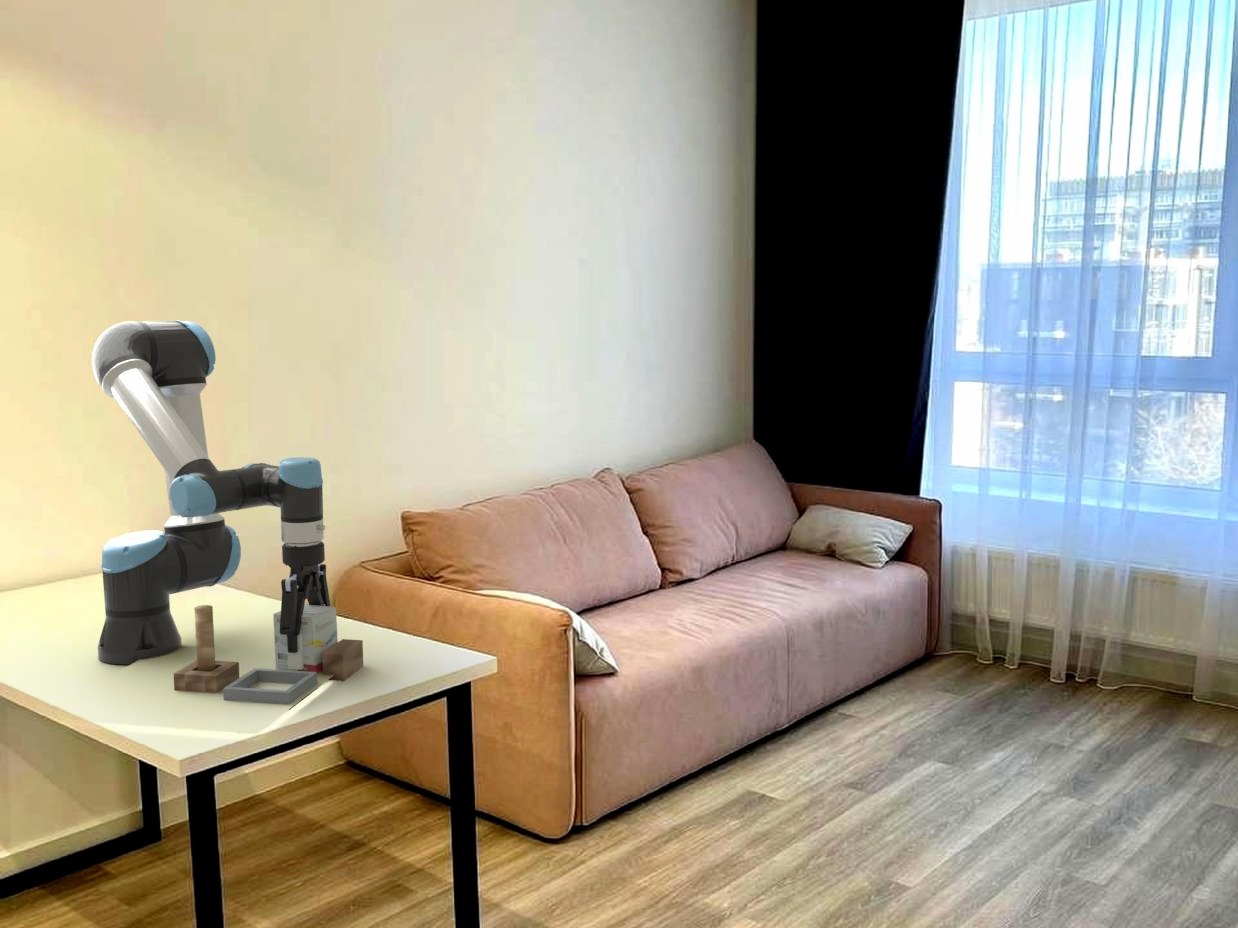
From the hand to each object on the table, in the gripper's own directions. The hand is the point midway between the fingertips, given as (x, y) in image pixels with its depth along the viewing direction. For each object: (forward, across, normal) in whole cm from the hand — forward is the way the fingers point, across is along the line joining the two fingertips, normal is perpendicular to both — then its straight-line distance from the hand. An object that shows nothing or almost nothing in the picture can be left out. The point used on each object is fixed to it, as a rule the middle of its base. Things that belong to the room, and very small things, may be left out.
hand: (307, 660), depth 215 cm
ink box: (+2, 0, 0) cm, 2 cm away
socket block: (+2, -13, +13) cm, 18 cm away
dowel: (+1, -13, +13) cm, 18 cm away
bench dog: (+2, 0, -7) cm, 7 cm away
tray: (+2, -14, 0) cm, 15 cm away
